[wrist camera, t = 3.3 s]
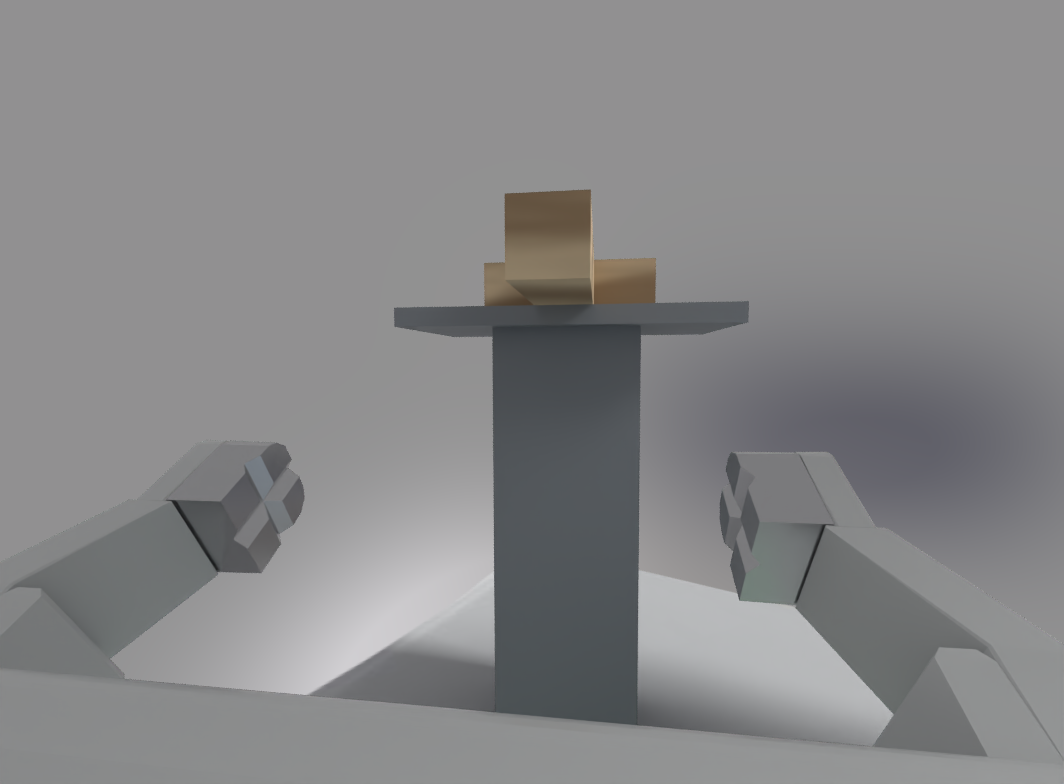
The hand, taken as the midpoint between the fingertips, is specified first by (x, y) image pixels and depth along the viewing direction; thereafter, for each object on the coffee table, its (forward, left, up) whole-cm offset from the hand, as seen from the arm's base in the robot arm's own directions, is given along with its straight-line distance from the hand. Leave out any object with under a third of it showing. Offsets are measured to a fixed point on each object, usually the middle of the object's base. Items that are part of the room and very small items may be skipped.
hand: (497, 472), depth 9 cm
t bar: (-12, -10, +5) cm, 17 cm away
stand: (-17, -14, -21) cm, 31 cm away
